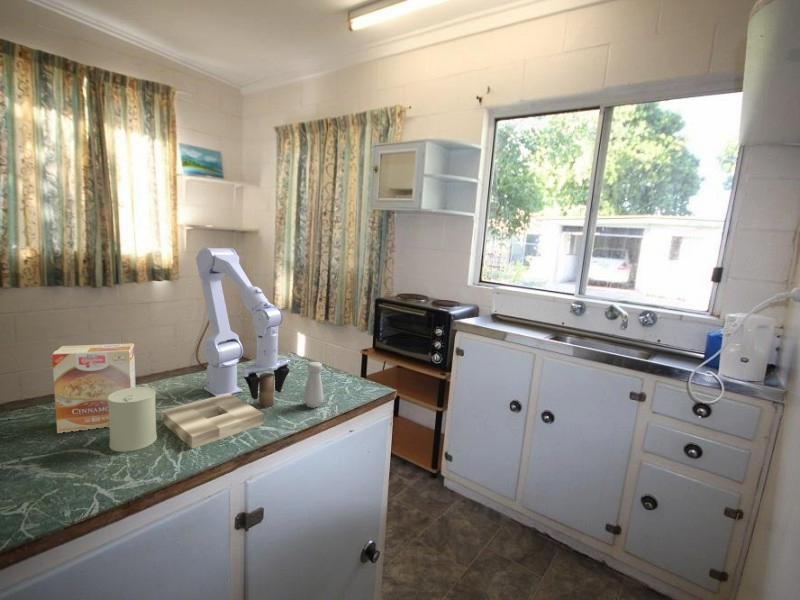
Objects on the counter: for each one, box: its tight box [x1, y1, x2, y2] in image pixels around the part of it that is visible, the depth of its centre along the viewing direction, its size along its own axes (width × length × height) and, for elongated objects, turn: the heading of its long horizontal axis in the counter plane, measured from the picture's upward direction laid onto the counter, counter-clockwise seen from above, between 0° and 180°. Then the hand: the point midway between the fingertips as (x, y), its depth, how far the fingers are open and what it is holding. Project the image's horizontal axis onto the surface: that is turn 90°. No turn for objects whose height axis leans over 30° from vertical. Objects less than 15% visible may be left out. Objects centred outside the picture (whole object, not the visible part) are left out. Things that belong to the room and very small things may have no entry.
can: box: [107, 386, 158, 453], centre depth 92 cm, size 9×9×12 cm
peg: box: [258, 372, 275, 409], centre depth 116 cm, size 4×4×9 cm
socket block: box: [160, 393, 265, 450], centre depth 104 cm, size 18×18×3 cm
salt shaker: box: [303, 361, 324, 409], centre depth 118 cm, size 6×6×13 cm
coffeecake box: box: [52, 342, 136, 434], centre depth 99 cm, size 15×7×20 cm, turn 115°
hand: (266, 394), depth 116 cm, fingers open, 7 cm apart
